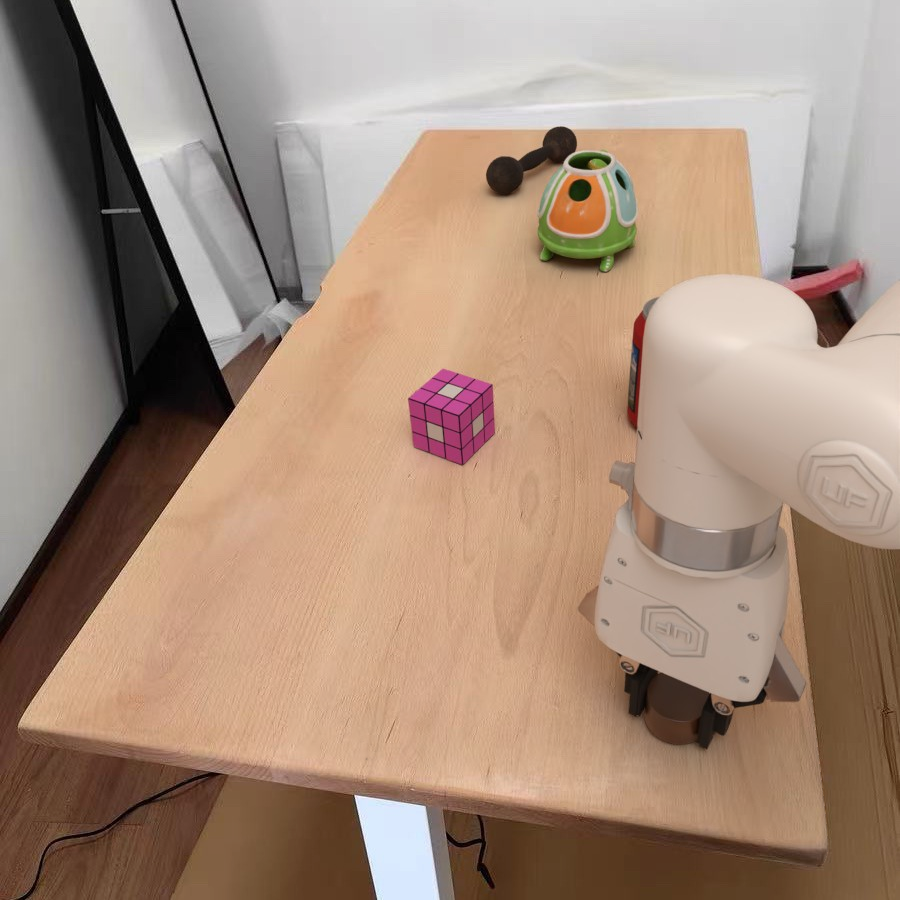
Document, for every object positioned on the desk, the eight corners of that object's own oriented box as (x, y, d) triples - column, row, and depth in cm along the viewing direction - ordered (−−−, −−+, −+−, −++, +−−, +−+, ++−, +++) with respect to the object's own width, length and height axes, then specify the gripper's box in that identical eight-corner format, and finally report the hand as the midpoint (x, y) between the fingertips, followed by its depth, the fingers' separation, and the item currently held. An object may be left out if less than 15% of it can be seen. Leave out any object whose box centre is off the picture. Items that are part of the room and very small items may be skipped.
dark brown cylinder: (715, 708, 57) (719, 685, 56) (693, 755, 55) (697, 732, 53) (658, 683, 59) (660, 660, 58) (634, 727, 57) (636, 704, 55)
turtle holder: (650, 219, 118) (657, 130, 111) (622, 279, 105) (628, 184, 98) (562, 211, 122) (563, 125, 114) (524, 269, 109) (523, 176, 101)
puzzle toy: (412, 447, 82) (407, 398, 78) (446, 415, 86) (442, 367, 82) (462, 465, 79) (459, 416, 76) (495, 433, 83) (493, 383, 79)
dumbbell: (555, 154, 140) (553, 120, 137) (584, 158, 137) (582, 123, 134) (480, 197, 128) (476, 161, 125) (510, 201, 125) (506, 164, 122)
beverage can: (653, 391, 86) (663, 284, 79) (712, 417, 82) (729, 306, 75) (612, 422, 83) (618, 313, 75) (672, 451, 79) (685, 338, 71)
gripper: (530, 500, 47) (535, 703, 58) (854, 615, 39) (788, 824, 50) (591, 426, 52) (585, 627, 63) (890, 516, 44) (823, 727, 55)
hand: (675, 713), depth 57 cm, fingers closed on dark brown cylinder, 4 cm apart
